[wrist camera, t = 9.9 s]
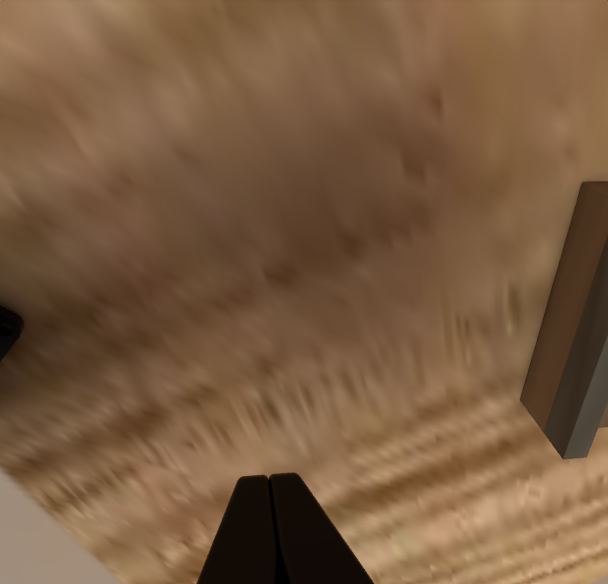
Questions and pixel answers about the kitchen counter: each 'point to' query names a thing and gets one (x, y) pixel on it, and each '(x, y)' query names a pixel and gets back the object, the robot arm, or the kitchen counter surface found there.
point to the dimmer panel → (575, 335)
